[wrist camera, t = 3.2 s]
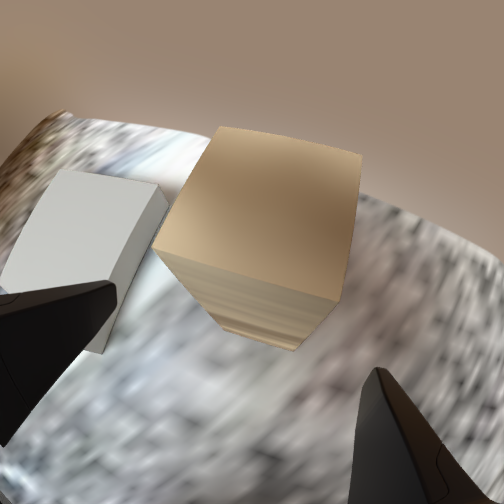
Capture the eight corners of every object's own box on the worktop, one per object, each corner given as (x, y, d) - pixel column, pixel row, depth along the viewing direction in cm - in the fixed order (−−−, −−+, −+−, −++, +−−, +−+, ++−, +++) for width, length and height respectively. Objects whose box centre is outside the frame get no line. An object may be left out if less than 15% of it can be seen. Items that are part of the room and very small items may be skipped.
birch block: (293, 351, 18) (339, 302, 6) (224, 330, 19) (151, 247, 7) (312, 285, 20) (362, 155, 8) (247, 267, 21) (220, 126, 9)
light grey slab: (101, 354, 18) (80, 349, 16) (16, 293, 21) (-3, 283, 18) (169, 205, 24) (158, 184, 21) (73, 184, 26) (60, 168, 24)
